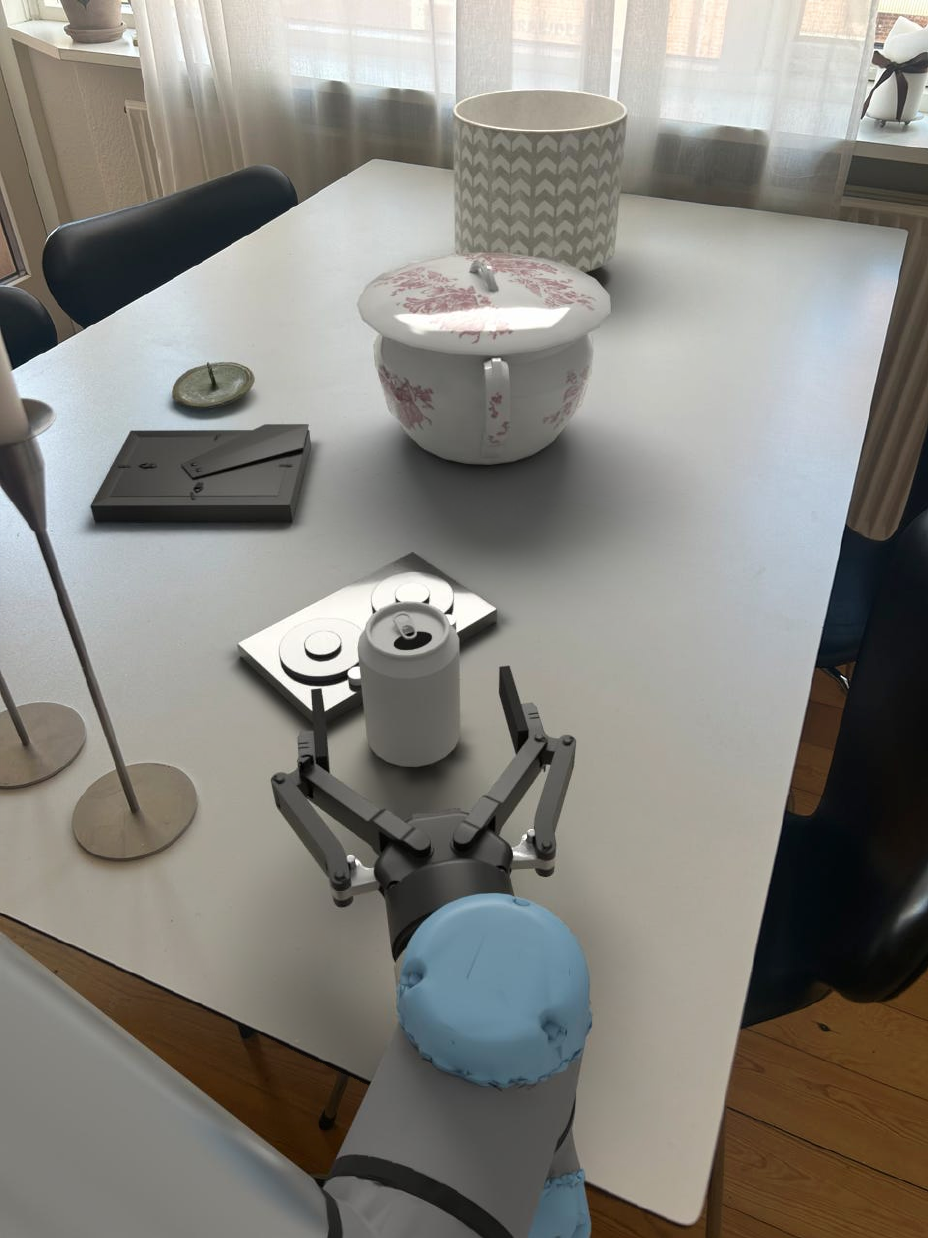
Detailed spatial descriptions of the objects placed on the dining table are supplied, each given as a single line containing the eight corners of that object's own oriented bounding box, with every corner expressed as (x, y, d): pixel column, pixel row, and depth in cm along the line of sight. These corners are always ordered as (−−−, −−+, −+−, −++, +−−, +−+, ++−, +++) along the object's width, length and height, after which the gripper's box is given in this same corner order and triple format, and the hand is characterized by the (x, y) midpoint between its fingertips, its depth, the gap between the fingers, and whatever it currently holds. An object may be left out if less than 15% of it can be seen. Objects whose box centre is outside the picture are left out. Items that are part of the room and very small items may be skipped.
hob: (239, 656, 85) (235, 634, 84) (413, 563, 95) (412, 543, 94) (319, 729, 78) (315, 707, 77) (497, 621, 89) (497, 600, 87)
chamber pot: (457, 363, 129) (455, 202, 116) (640, 420, 117) (661, 247, 104) (316, 450, 112) (294, 273, 99) (513, 528, 100) (519, 338, 86)
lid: (269, 395, 126) (267, 356, 124) (234, 412, 117) (231, 371, 115) (196, 390, 128) (192, 351, 126) (156, 406, 119) (151, 365, 117)
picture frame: (311, 445, 113) (134, 446, 113) (308, 423, 111) (129, 424, 111) (292, 521, 101) (95, 522, 101) (289, 498, 99) (88, 499, 99)
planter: (629, 256, 159) (645, 95, 144) (588, 313, 142) (601, 137, 126) (487, 238, 166) (488, 83, 151) (431, 291, 149) (425, 121, 133)
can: (386, 787, 74) (376, 672, 66) (354, 722, 79) (341, 609, 71) (476, 756, 76) (476, 642, 68) (438, 695, 81) (435, 583, 73)
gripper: (244, 1022, 55) (246, 747, 71) (664, 954, 58) (575, 706, 74) (221, 950, 50) (229, 673, 66) (682, 881, 53) (582, 632, 69)
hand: (412, 690), depth 70 cm, fingers open, 13 cm apart
